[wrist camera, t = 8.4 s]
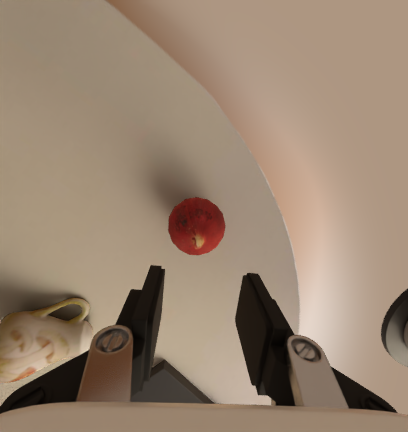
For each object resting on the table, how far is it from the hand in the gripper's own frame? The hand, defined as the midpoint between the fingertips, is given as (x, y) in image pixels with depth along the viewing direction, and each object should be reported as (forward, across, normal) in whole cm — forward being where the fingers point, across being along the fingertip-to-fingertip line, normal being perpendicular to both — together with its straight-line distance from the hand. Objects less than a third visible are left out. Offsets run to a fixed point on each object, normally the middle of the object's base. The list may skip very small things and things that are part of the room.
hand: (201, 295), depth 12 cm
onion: (+16, 0, 0) cm, 16 cm away
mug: (+16, +16, +16) cm, 28 cm away
